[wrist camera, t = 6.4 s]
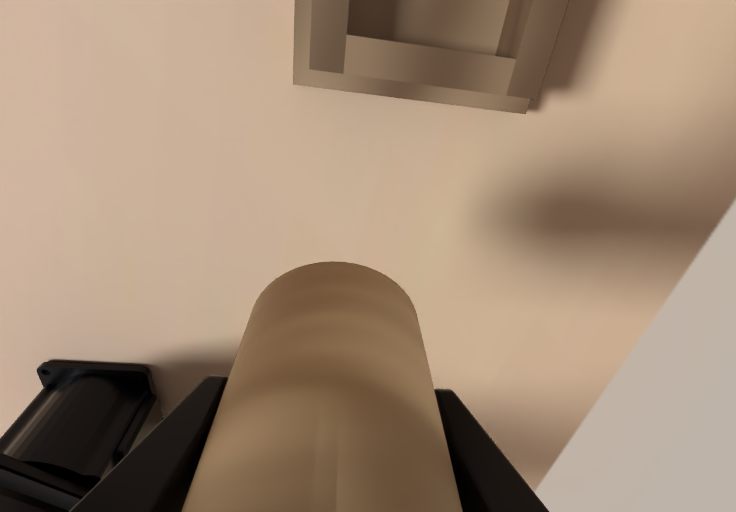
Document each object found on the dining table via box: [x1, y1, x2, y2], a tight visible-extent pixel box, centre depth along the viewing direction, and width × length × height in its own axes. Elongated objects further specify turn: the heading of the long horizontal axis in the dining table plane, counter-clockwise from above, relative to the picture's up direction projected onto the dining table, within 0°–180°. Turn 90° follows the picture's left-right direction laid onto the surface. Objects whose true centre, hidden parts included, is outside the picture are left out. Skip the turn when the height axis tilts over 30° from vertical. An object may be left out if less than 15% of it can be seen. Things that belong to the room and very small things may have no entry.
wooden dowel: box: [181, 262, 463, 512], centre depth 7 cm, size 4×4×8 cm
